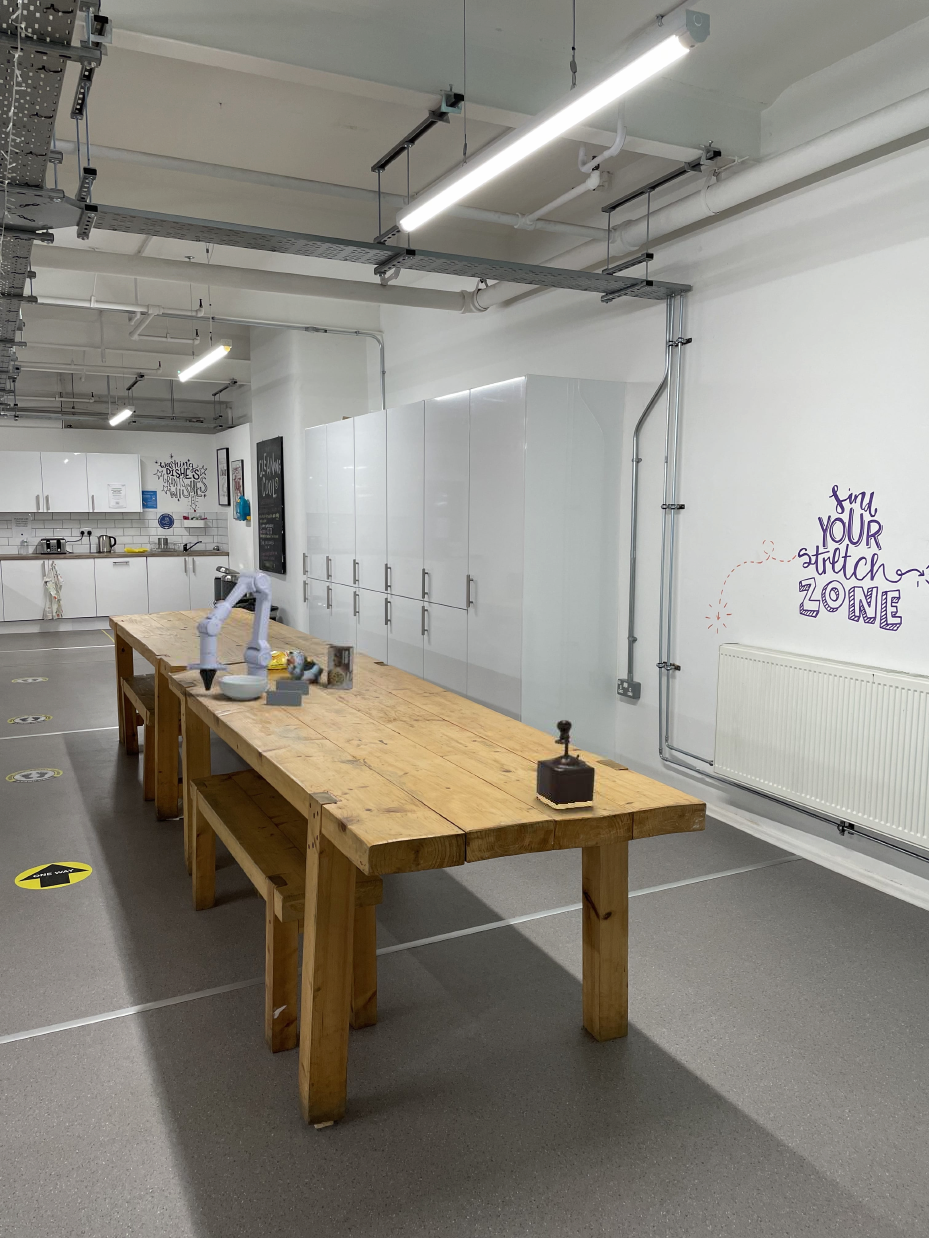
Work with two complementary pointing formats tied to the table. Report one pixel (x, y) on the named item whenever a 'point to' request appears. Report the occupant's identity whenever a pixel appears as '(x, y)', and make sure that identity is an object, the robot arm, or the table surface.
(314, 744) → the table surface
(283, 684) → the gray parallel panels
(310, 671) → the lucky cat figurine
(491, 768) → the table surface
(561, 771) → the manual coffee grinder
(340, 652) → the coffee box
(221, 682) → the cereal bowl
